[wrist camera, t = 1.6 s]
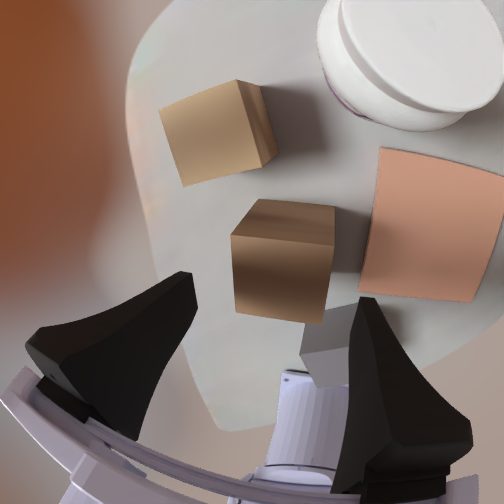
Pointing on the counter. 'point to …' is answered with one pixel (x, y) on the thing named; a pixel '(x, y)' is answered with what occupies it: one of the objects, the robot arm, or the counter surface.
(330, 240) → the walnut block
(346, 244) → the counter surface
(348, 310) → the gray block
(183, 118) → the oak block
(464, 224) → the terracotta coaster
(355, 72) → the pill bottle
